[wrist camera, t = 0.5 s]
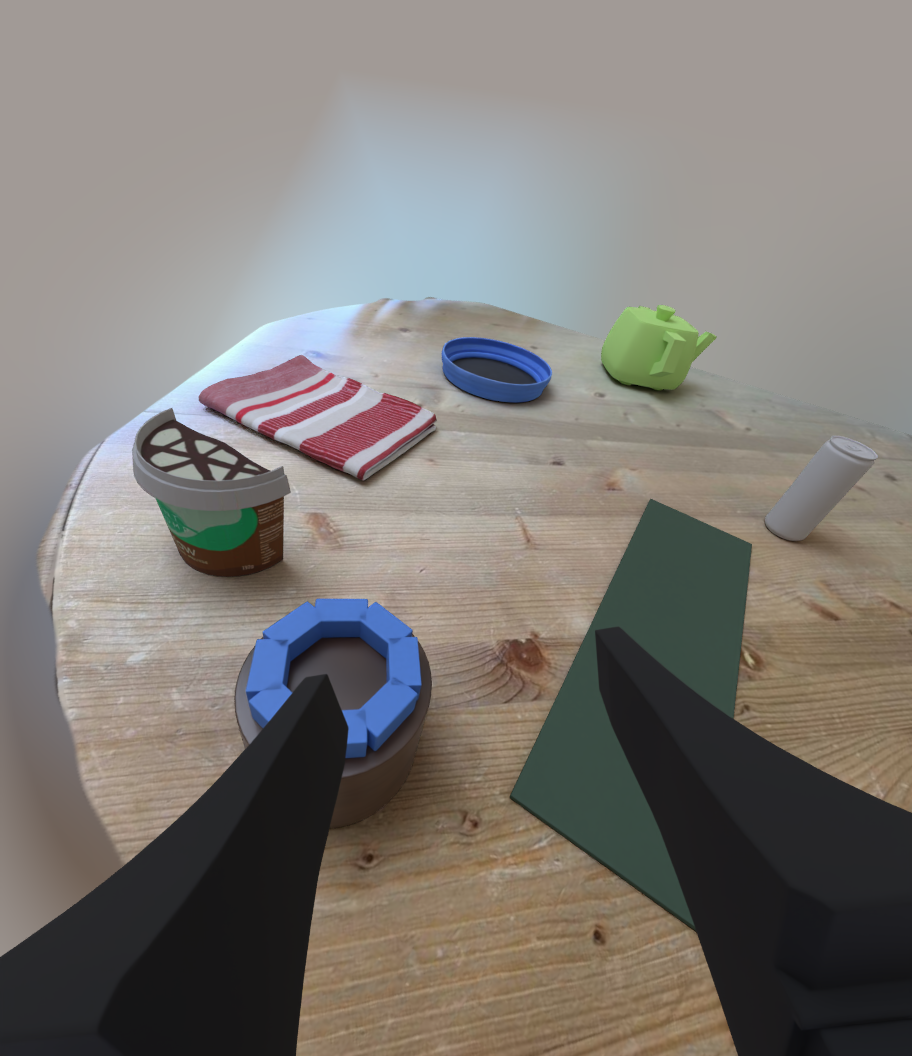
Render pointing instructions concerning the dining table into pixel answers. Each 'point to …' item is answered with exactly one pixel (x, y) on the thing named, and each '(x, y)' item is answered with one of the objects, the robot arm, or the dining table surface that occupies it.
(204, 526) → the food container
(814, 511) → the beverage can
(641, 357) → the teapot
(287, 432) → the dish towel
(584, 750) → the mat
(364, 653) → the platform
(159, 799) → the dining table surface
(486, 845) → the dining table surface
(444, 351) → the bowl
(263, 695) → the ring
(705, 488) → the dining table surface
